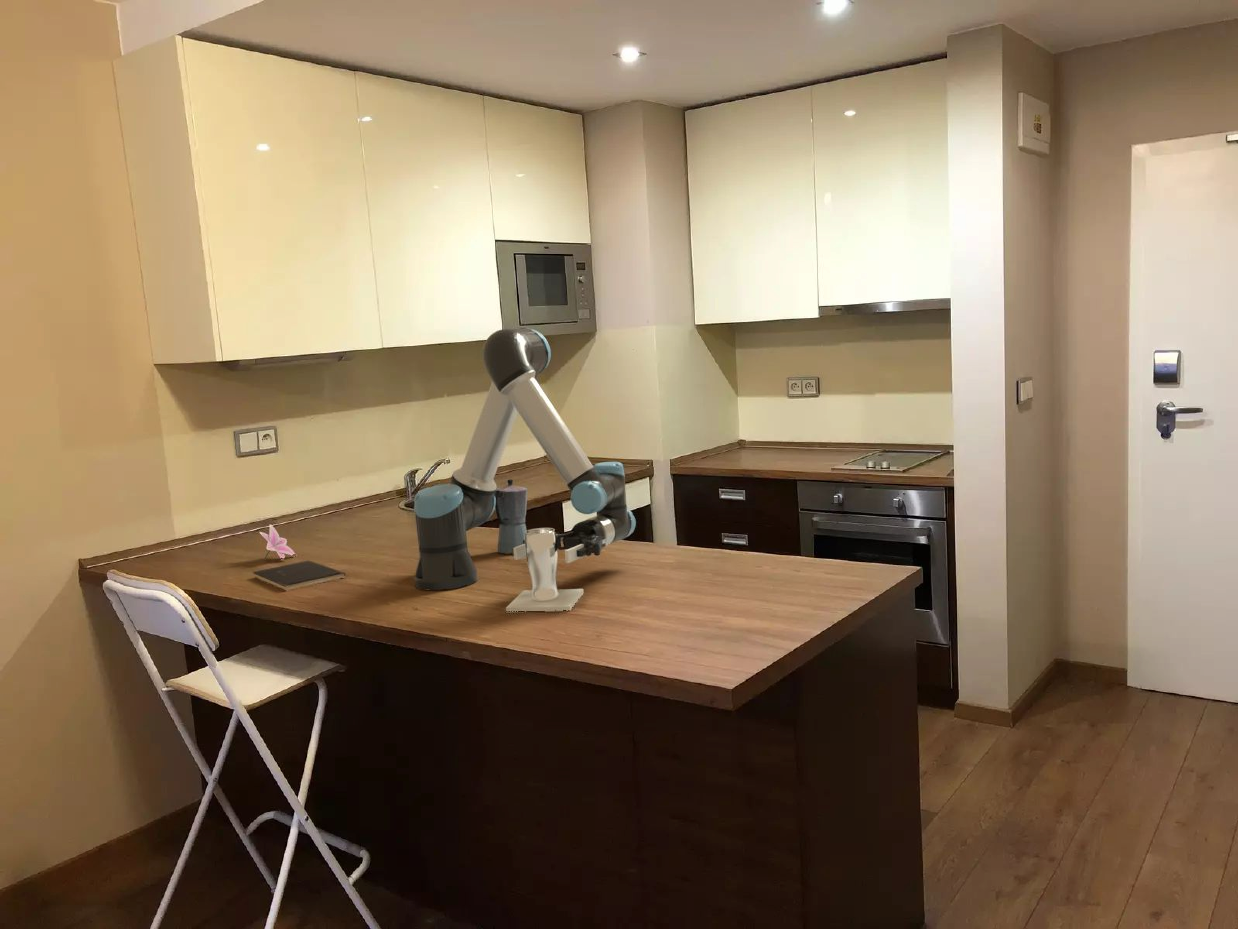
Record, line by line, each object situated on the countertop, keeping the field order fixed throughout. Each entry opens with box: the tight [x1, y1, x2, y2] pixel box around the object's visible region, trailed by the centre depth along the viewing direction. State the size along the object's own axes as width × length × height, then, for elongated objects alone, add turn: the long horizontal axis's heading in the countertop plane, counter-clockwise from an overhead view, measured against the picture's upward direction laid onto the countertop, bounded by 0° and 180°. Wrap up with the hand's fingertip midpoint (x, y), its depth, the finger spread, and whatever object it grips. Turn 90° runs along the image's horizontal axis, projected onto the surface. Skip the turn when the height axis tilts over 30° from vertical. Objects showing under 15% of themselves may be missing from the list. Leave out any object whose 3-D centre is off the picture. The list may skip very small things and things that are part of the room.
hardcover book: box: [252, 560, 346, 589], centre depth 257 cm, size 16×23×2 cm
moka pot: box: [494, 479, 528, 555], centre depth 269 cm, size 10×15×20 cm, turn 161°
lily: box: [259, 524, 296, 559], centre depth 283 cm, size 12×12×10 cm
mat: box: [505, 588, 585, 613], centre depth 215 cm, size 14×14×1 cm
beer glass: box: [525, 527, 559, 601], centre depth 214 cm, size 7×7×15 cm
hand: (540, 555), depth 213 cm, fingers open, 13 cm apart
